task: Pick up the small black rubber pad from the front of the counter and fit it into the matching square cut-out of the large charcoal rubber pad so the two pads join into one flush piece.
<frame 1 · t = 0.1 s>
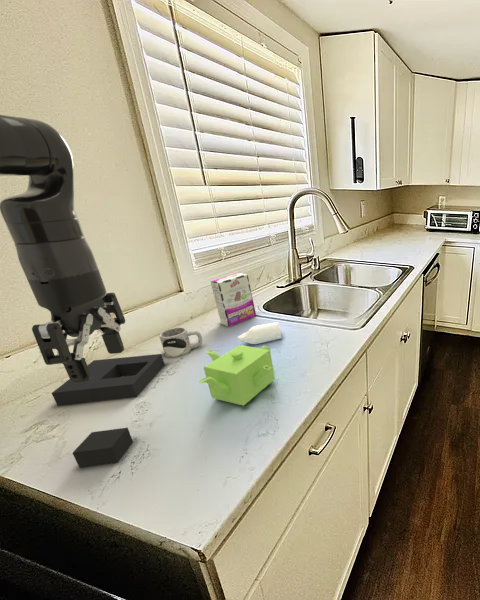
hand: (101, 365, 53), 20 cm above the worktop, tool pointing down, fingers open, 8 cm apart
mug: (185, 351, 97), on the worktop
white tapered cylinder: (260, 343, 102), on the worktop
candy bar box: (239, 321, 117), on the worktop
small pad: (108, 456, 61), on the worktop
base pad: (117, 385, 81), on the worktop
kettle: (243, 393, 78), on the worktop
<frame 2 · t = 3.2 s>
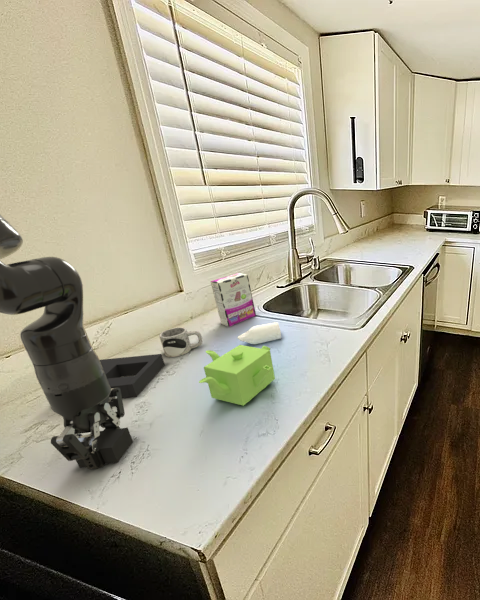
hand: (107, 454, 60), 0 cm above the worktop, tool pointing down, fingers closed on small pad, 5 cm apart
small pad: (108, 456, 61), on the worktop, touching gripper
everything else where it was.
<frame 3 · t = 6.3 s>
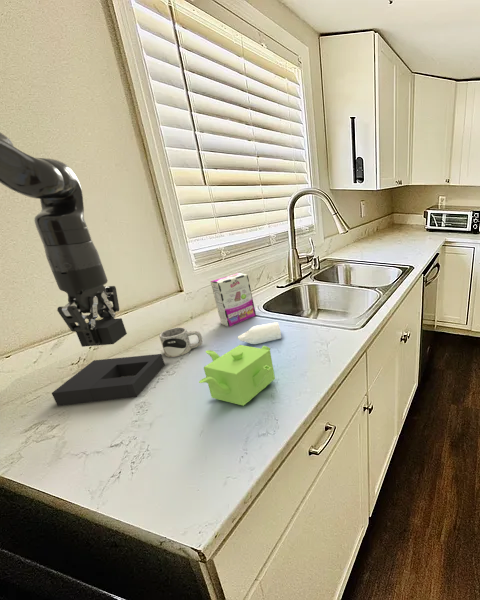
hand: (104, 338, 72), 15 cm above the worktop, tool pointing down, fingers closed on small pad, 5 cm apart
small pad: (105, 340, 72), point 15 cm above the worktop, touching gripper
everything else where it was.
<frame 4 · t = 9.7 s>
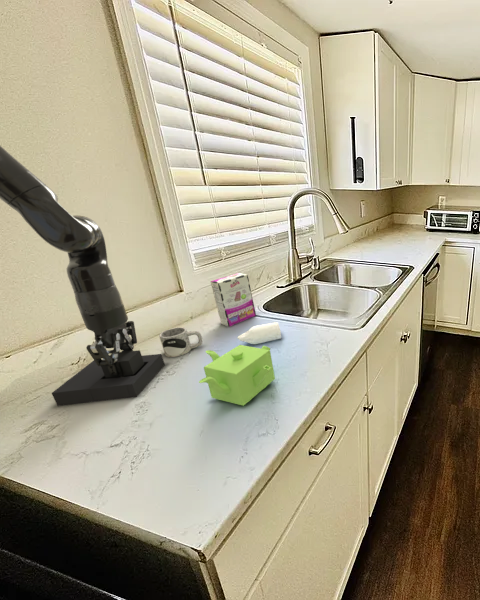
hand: (124, 369, 80), 4 cm above the worktop, tool pointing down, fingers closed on small pad, 5 cm apart
small pad: (125, 370, 81), point 4 cm above the worktop, touching gripper
everything else where it was.
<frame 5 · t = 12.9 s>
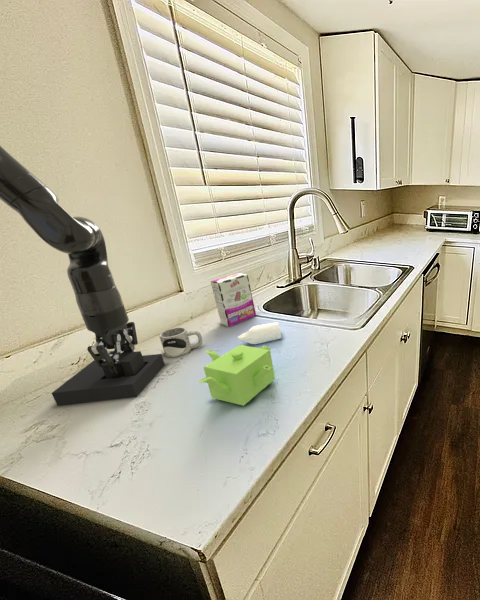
hand: (125, 370, 81), 4 cm above the worktop, tool pointing down, fingers closed on small pad, 5 cm apart
small pad: (126, 371, 81), point 4 cm above the worktop, touching gripper
everything else where it was.
when the fingers open (5 cm above the worktop, at t = 15.7 s): small pad drops 4 cm, resting in base pad.
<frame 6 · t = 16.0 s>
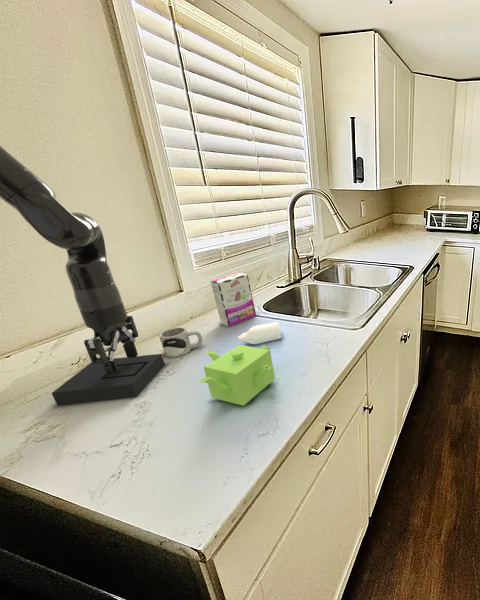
hand: (123, 365, 80), 5 cm above the worktop, tool pointing down, fingers open, 7 cm apart
small pad: (130, 383, 82), resting in base pad
everything else where it was.
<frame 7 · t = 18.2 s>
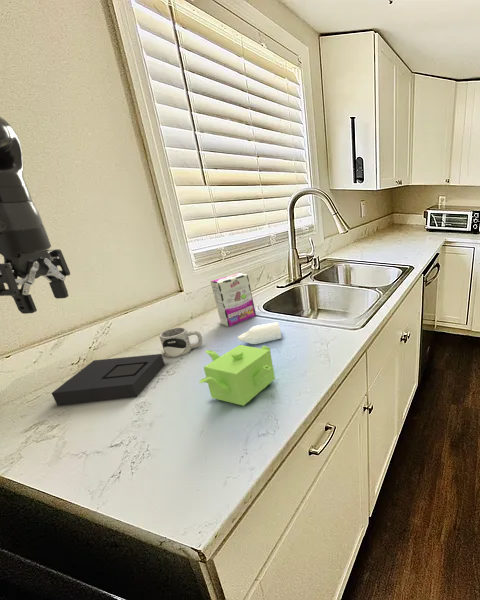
hand: (46, 304, 68), 24 cm above the worktop, tool pointing down, fingers open, 8 cm apart
nothing on the worktop moved.
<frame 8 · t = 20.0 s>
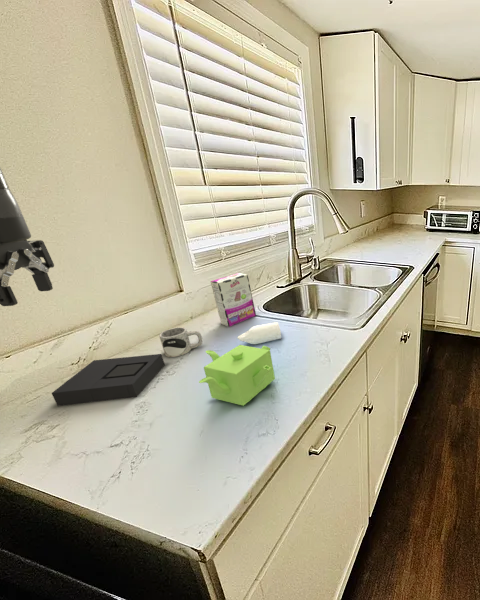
hand: (29, 297, 66), 26 cm above the worktop, tool pointing down, fingers open, 8 cm apart
nothing on the worktop moved.
at the end: small pad 0.0 cm from the target spot on the base pad, point 0.0 cm above the base pad's base; small pad tilted 0°; the gripper is holding nothing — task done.
